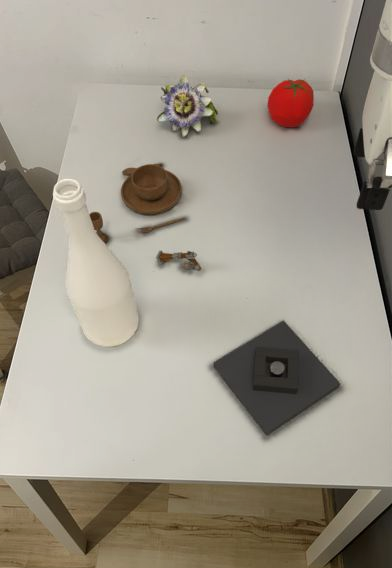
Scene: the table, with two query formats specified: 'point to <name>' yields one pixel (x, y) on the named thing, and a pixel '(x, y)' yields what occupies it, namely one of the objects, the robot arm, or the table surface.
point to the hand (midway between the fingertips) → (366, 180)
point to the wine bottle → (94, 274)
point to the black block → (276, 383)
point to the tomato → (290, 102)
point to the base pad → (275, 401)
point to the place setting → (146, 194)
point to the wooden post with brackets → (180, 258)
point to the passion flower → (186, 106)
